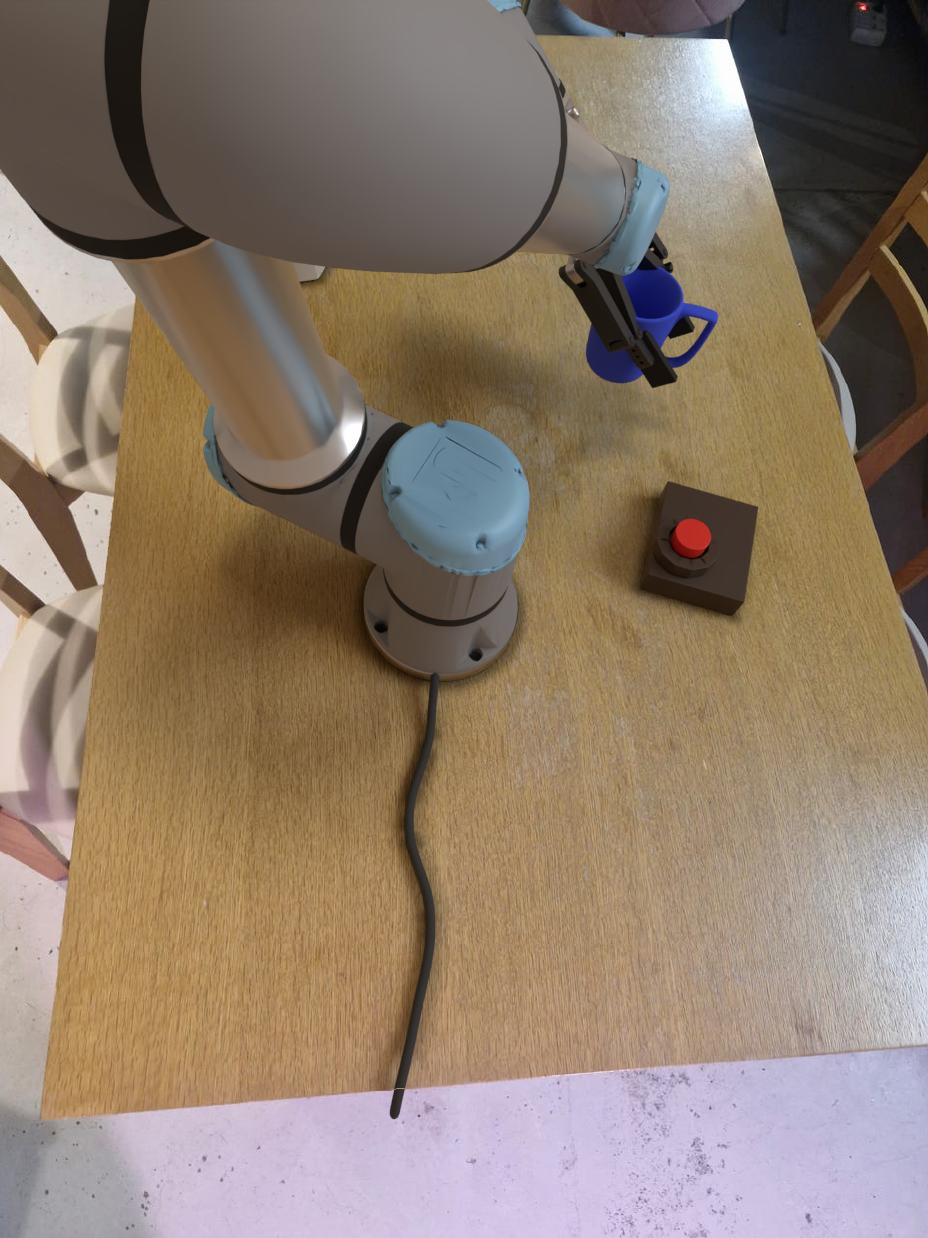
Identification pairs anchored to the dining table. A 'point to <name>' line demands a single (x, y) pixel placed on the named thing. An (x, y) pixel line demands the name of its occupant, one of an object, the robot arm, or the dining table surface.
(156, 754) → the dining table surface
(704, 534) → the power button
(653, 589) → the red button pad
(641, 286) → the mug
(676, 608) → the dining table surface
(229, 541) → the dining table surface
